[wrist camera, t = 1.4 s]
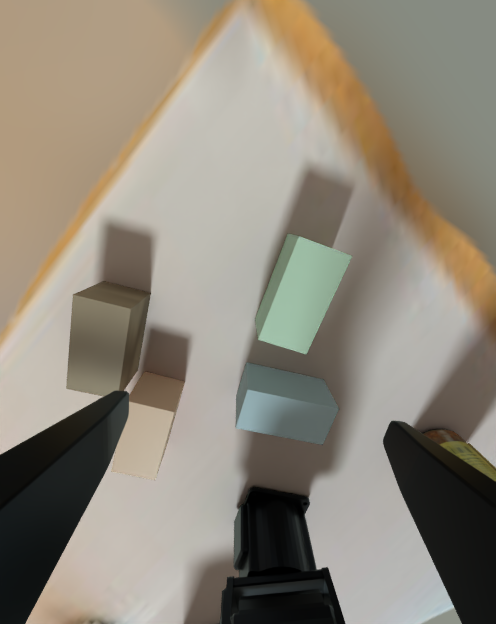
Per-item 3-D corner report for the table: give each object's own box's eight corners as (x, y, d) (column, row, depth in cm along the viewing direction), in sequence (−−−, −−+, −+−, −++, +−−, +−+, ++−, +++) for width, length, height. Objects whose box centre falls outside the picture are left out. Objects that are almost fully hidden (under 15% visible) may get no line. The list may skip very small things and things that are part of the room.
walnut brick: (104, 280, 20) (73, 294, 16) (151, 292, 20) (130, 308, 17) (96, 359, 22) (66, 388, 18) (138, 369, 22) (117, 399, 19)
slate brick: (322, 378, 23) (338, 408, 19) (309, 410, 24) (322, 444, 21) (246, 361, 22) (247, 389, 19) (236, 394, 24) (235, 428, 20)
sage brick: (287, 233, 19) (299, 236, 15) (330, 249, 20) (352, 256, 16) (254, 318, 21) (258, 339, 17) (294, 331, 22) (306, 354, 18)
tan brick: (145, 370, 22) (125, 400, 19) (185, 380, 23) (174, 412, 19) (131, 432, 25) (111, 471, 21) (167, 441, 25) (155, 480, 21)
